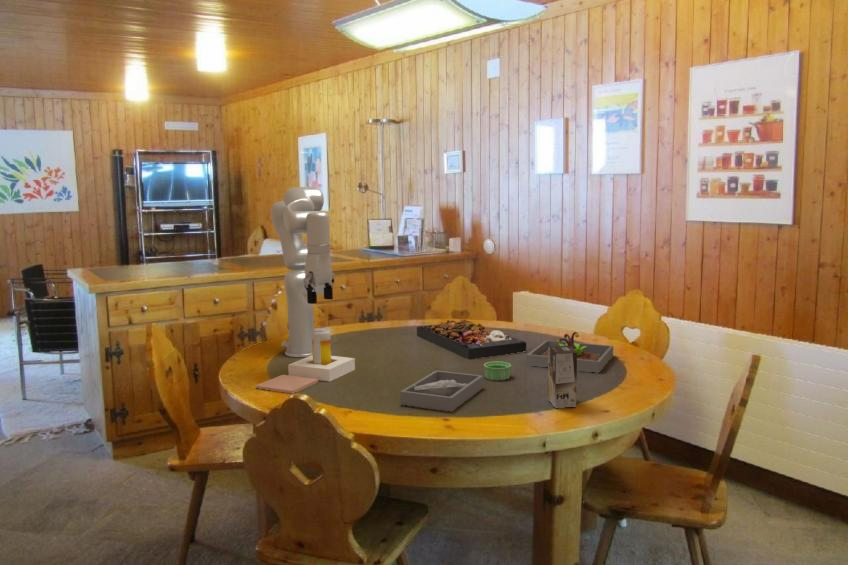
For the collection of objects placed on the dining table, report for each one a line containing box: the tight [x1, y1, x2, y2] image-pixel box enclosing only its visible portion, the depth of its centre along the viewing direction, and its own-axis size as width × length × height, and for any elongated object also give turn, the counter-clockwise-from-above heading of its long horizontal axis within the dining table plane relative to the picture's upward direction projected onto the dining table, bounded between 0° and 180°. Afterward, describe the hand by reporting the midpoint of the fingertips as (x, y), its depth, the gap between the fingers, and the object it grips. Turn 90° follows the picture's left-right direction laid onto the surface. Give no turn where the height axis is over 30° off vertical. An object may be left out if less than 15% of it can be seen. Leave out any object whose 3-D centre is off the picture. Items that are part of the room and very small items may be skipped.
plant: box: [541, 331, 601, 361], centre depth 251 cm, size 20×20×11 cm
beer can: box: [312, 327, 332, 365], centre depth 238 cm, size 6×6×15 cm
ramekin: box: [483, 360, 512, 382], centre depth 231 cm, size 9×9×4 cm
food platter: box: [416, 318, 527, 360], centre depth 280 cm, size 45×25×10 cm, turn 25°
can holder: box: [287, 355, 356, 382], centre depth 238 cm, size 16×16×4 cm
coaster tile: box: [255, 374, 319, 395], centre depth 224 cm, size 14×14×1 cm
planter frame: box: [525, 339, 614, 374], centre depth 251 cm, size 25×25×4 cm
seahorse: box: [412, 380, 467, 397], centre depth 211 cm, size 5×12×20 cm
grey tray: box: [399, 370, 484, 413], centre depth 211 cm, size 16×25×4 cm, turn 155°
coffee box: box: [547, 346, 578, 409], centre depth 202 cm, size 9×6×16 cm
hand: (320, 301), depth 235 cm, fingers open, 9 cm apart
